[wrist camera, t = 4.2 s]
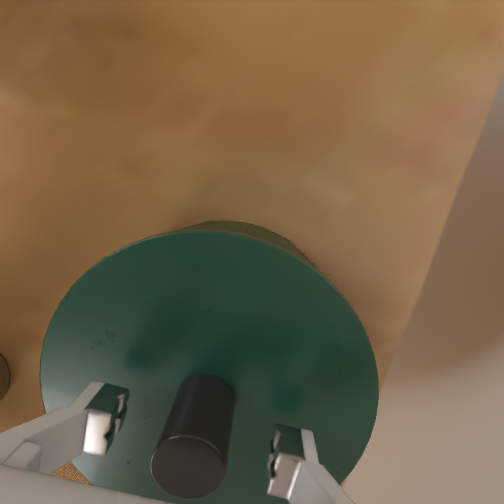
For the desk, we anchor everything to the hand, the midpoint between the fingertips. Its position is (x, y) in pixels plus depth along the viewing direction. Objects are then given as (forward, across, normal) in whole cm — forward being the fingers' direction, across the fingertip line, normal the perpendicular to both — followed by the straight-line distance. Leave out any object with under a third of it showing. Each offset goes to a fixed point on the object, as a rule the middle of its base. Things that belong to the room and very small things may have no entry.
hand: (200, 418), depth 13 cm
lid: (+2, 0, 0) cm, 2 cm away
